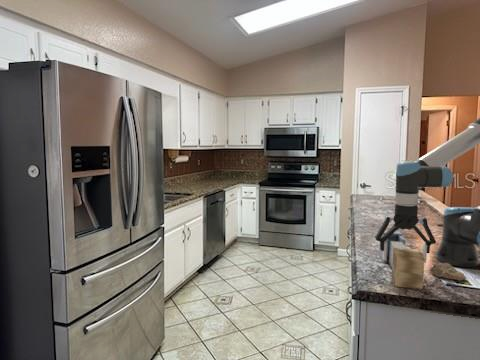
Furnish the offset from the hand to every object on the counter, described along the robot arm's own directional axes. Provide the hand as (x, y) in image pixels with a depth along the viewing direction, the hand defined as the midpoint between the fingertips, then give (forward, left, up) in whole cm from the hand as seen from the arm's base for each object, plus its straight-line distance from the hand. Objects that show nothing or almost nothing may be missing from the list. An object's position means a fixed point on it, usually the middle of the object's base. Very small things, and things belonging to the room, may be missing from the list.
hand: (403, 260), depth 124 cm
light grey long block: (+2, -3, -6) cm, 7 cm away
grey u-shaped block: (+7, -17, -6) cm, 20 cm away
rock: (-14, -9, -6) cm, 18 cm away
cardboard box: (-2, +6, -6) cm, 9 cm away
